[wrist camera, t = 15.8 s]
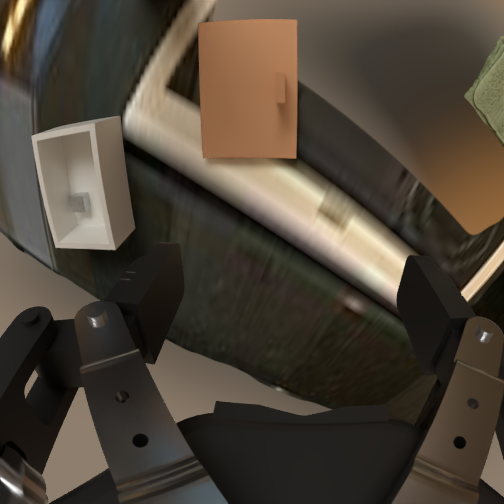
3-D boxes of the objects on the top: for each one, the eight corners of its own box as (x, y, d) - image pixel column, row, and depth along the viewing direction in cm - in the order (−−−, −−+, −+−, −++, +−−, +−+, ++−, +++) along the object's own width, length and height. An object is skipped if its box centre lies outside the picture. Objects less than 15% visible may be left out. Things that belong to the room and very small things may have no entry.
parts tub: (120, 115, 45) (94, 123, 38) (135, 228, 55) (115, 250, 48) (60, 126, 46) (31, 136, 39) (78, 227, 56) (55, 247, 49)
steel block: (88, 191, 51) (82, 195, 49) (91, 207, 52) (85, 211, 51) (75, 192, 51) (69, 196, 49) (78, 208, 53) (72, 212, 51)
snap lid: (296, 22, 36) (298, 11, 30) (295, 155, 47) (297, 167, 40) (201, 25, 38) (188, 16, 32) (205, 155, 48) (194, 166, 42)
